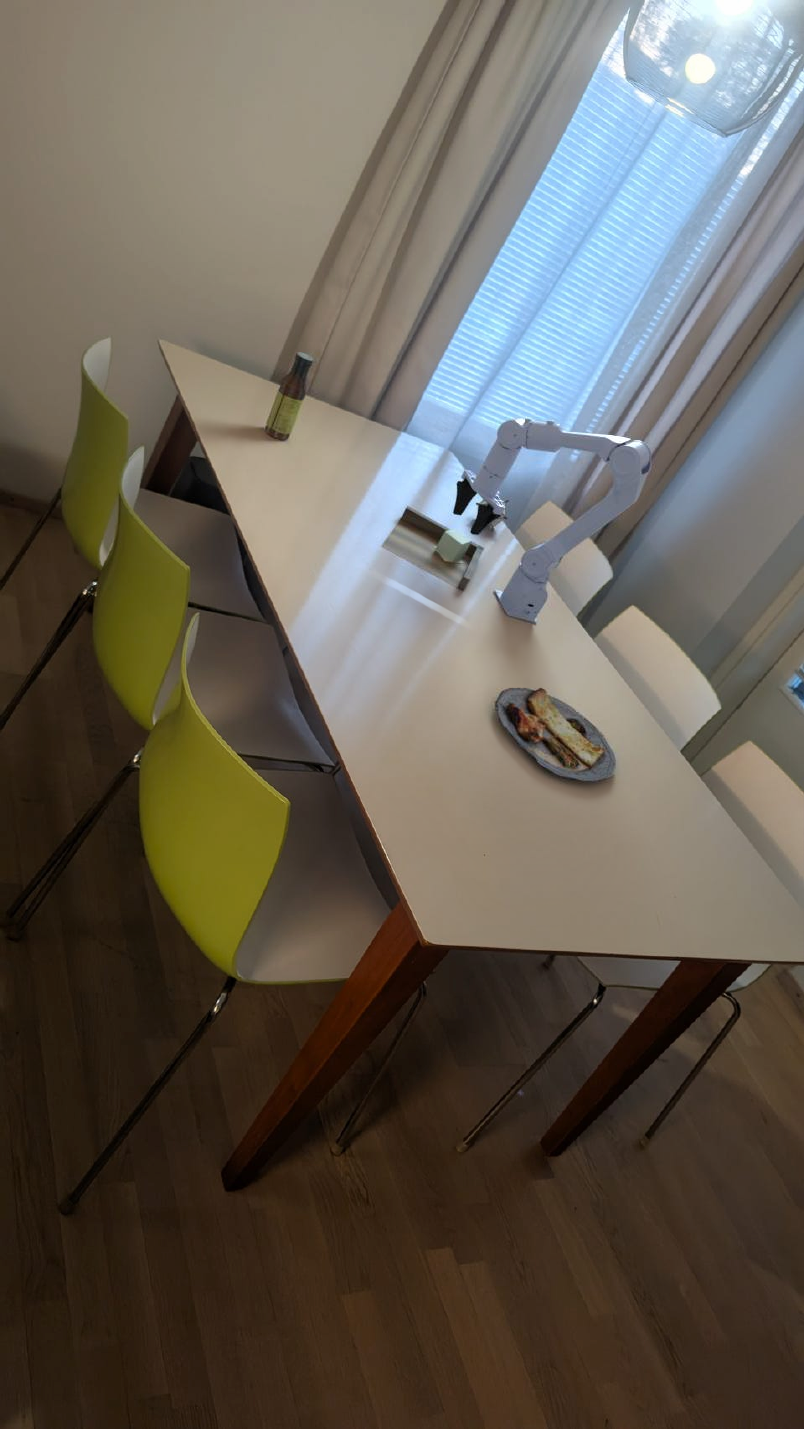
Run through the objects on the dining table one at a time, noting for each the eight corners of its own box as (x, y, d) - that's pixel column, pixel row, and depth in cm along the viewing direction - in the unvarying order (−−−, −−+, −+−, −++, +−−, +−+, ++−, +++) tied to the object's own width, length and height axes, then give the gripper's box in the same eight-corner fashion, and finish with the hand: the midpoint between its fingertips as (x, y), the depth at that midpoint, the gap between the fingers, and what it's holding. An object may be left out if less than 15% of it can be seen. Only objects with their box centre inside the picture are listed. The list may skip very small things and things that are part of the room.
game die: (479, 540, 263) (492, 523, 254) (462, 512, 264) (474, 493, 255) (507, 527, 266) (521, 509, 257) (490, 499, 267) (503, 480, 258)
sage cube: (452, 563, 233) (462, 544, 230) (434, 550, 234) (444, 531, 231) (461, 559, 237) (472, 540, 234) (444, 546, 238) (454, 528, 235)
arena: (461, 595, 225) (469, 580, 223) (379, 550, 224) (387, 534, 222) (476, 562, 242) (484, 548, 240) (400, 520, 241) (407, 505, 239)
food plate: (469, 702, 191) (478, 688, 189) (541, 688, 208) (550, 675, 206) (560, 800, 180) (571, 786, 179) (628, 777, 198) (639, 763, 196)
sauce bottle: (293, 440, 250) (325, 364, 239) (277, 442, 245) (310, 364, 234) (273, 425, 251) (304, 349, 241) (257, 427, 246) (288, 349, 236)
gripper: (525, 491, 222) (495, 544, 229) (490, 455, 231) (462, 507, 238) (501, 487, 218) (471, 541, 225) (466, 450, 226) (439, 503, 233)
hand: (465, 523), depth 231 cm, fingers open, 7 cm apart
